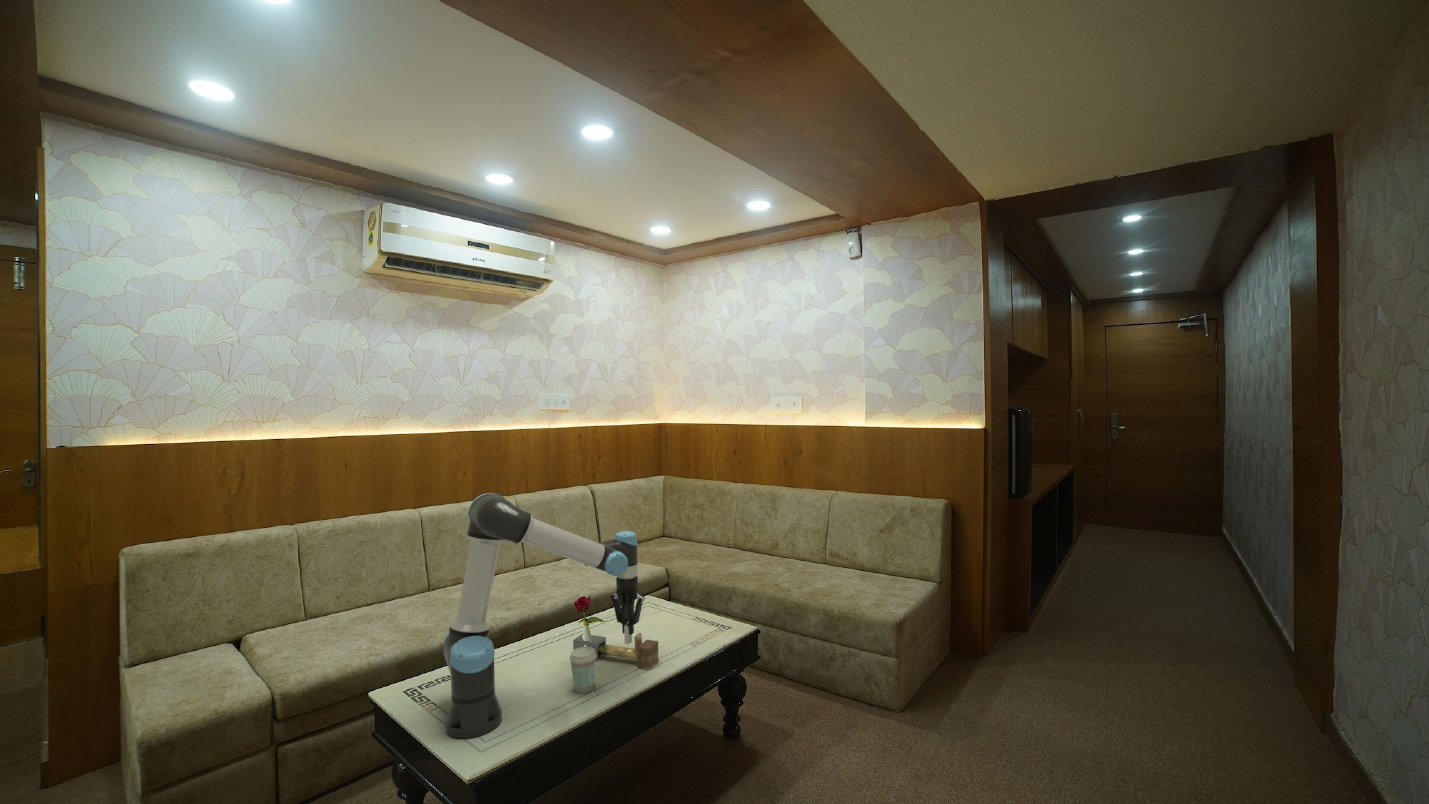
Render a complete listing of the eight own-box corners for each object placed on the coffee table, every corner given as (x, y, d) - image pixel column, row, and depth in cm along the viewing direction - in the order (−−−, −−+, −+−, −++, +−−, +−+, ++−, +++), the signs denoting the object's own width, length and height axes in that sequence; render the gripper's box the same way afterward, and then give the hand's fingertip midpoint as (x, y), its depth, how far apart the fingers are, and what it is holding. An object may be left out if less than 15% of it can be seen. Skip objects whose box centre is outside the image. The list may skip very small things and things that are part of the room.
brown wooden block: (637, 668, 206) (637, 647, 206) (647, 659, 213) (646, 639, 213) (649, 670, 205) (648, 649, 205) (658, 661, 211) (658, 641, 211)
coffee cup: (591, 696, 188) (590, 658, 187) (565, 694, 189) (564, 656, 189) (601, 683, 196) (600, 646, 196) (577, 681, 198) (576, 645, 197)
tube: (588, 654, 216) (587, 630, 215) (593, 650, 219) (593, 626, 219) (645, 663, 207) (644, 638, 207) (649, 658, 210) (649, 634, 210)
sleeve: (573, 657, 216) (573, 640, 216) (583, 650, 222) (582, 633, 222) (597, 660, 213) (596, 643, 213) (606, 654, 218) (605, 637, 218)
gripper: (605, 577, 210) (606, 644, 210) (638, 581, 205) (639, 649, 205) (616, 571, 217) (618, 636, 217) (648, 574, 212) (649, 641, 212)
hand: (628, 642), depth 211 cm, fingers closed
